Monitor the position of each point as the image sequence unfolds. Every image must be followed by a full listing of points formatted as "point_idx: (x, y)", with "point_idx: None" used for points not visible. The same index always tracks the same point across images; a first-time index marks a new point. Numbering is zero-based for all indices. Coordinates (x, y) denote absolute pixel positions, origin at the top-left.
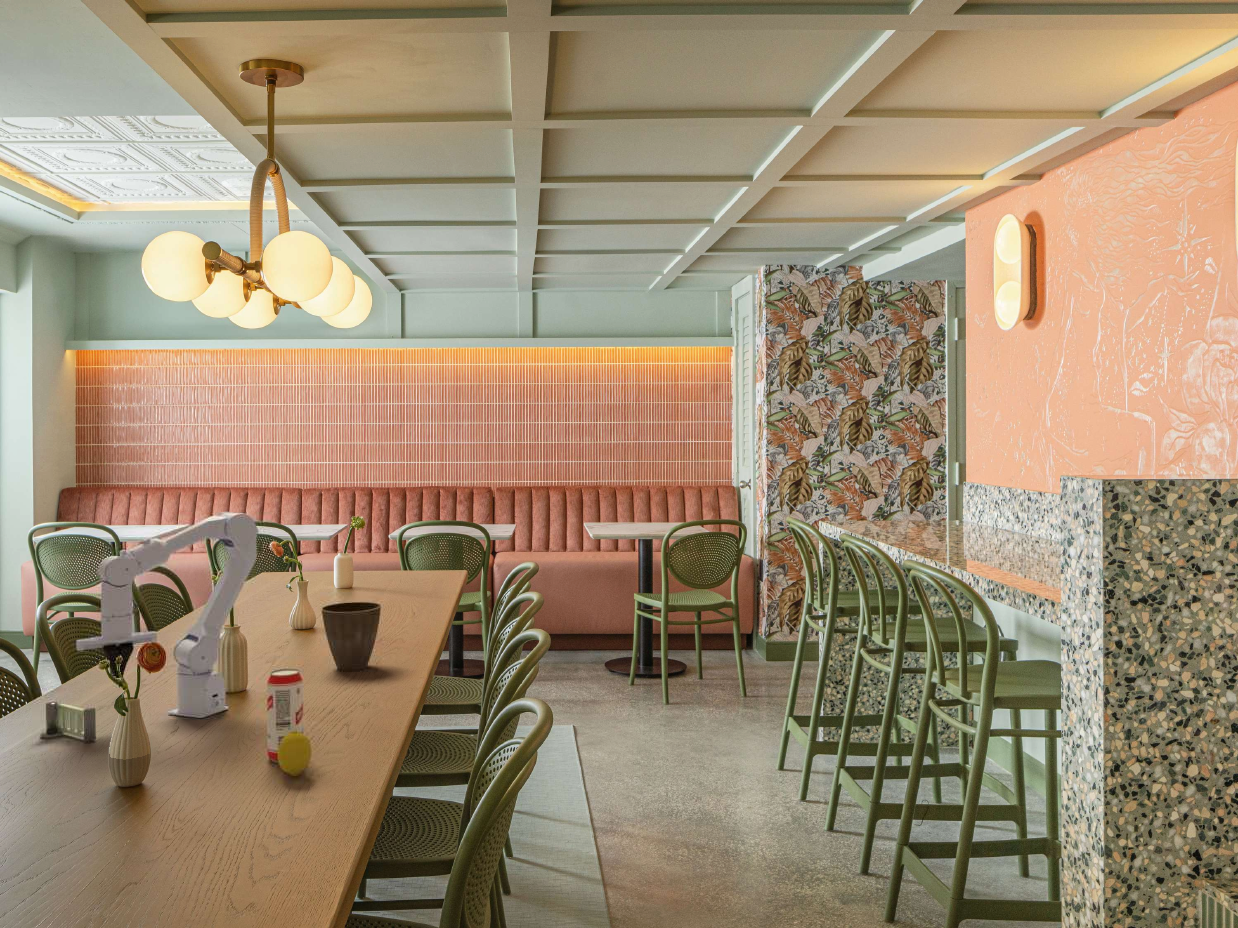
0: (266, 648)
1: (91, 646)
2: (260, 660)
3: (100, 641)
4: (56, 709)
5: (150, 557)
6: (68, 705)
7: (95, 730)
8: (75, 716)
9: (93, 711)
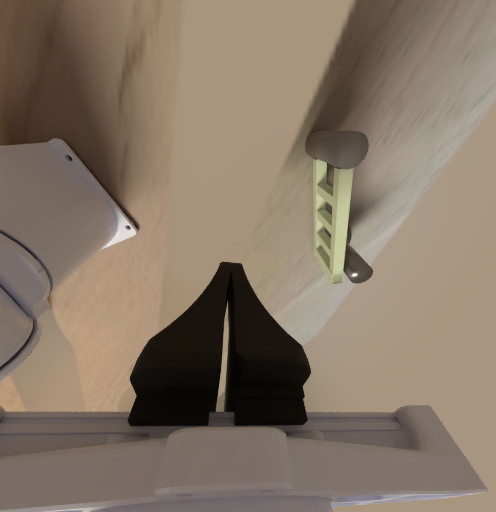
0: (15, 411)
1: (365, 428)
2: (11, 386)
3: (370, 470)
4: (350, 259)
5: None
6: (336, 254)
7: (315, 138)
8: (327, 221)
9: (346, 132)
